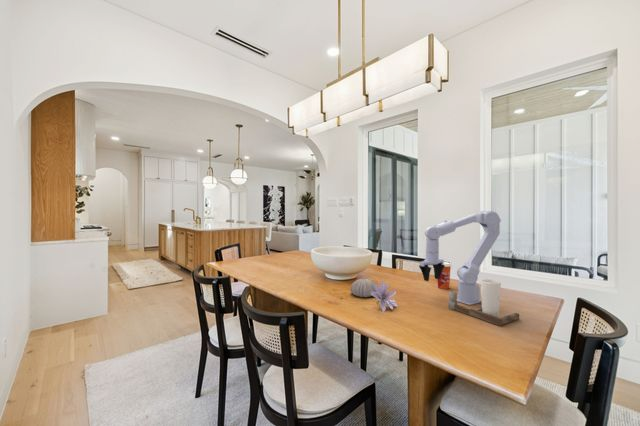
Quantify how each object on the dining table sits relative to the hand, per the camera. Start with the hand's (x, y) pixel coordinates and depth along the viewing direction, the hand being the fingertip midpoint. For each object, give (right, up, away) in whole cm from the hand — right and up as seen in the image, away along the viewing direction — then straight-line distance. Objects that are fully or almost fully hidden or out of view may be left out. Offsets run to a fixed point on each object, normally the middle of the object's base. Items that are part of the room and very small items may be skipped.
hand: (431, 279), depth 132 cm
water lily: (-25, -10, -11) cm, 30 cm away
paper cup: (+15, -10, +19) cm, 26 cm away
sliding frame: (+14, -10, -18) cm, 24 cm away
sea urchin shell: (-32, -9, +7) cm, 34 cm away
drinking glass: (+14, -10, -23) cm, 29 cm away
